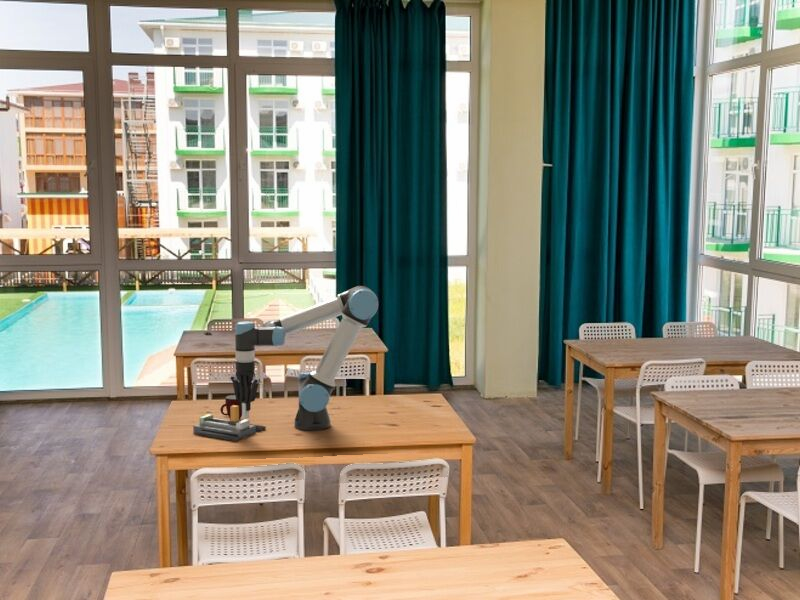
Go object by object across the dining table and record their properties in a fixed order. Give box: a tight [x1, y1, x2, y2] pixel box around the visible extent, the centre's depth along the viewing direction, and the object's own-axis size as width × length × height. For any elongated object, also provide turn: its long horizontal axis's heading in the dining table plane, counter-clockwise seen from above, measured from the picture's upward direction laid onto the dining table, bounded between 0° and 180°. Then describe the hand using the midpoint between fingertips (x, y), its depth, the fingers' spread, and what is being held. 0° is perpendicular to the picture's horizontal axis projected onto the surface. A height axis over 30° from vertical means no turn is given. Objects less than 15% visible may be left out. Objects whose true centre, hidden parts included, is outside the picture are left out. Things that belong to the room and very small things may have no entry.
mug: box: [219, 394, 242, 420], centre depth 377 cm, size 10×8×10 cm
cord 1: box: [197, 431, 239, 442], centre depth 350 cm, size 20×2×2 cm, turn 63°
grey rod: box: [256, 426, 263, 432], centre depth 365 cm, size 24×2×2 cm, turn 65°
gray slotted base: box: [192, 413, 257, 441], centre depth 357 cm, size 22×12×6 cm, turn 65°
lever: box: [228, 405, 242, 425], centre depth 354 cm, size 4×3×8 cm
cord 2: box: [250, 423, 267, 431], centre depth 367 cm, size 25×2×2 cm, turn 68°
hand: (245, 418), depth 352 cm, fingers closed
